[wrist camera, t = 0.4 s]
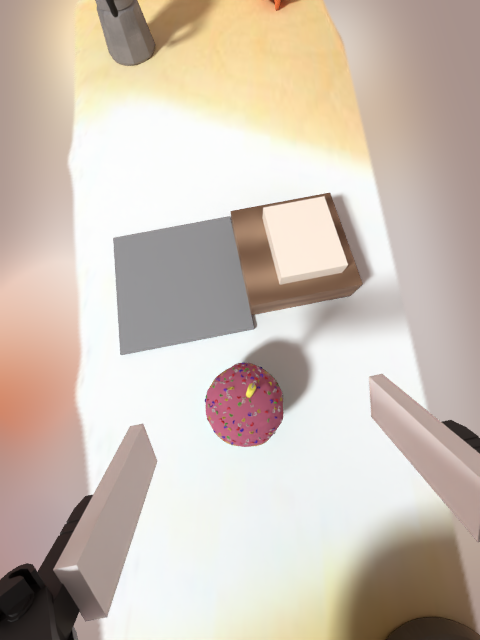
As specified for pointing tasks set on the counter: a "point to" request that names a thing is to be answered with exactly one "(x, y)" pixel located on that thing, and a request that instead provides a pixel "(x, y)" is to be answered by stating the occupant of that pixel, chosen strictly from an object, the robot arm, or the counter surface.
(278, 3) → the pot
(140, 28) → the coffeepot
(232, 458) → the counter surface
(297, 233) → the cream rectangular block
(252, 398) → the cupcake
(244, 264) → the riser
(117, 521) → the robot arm
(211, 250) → the mat
